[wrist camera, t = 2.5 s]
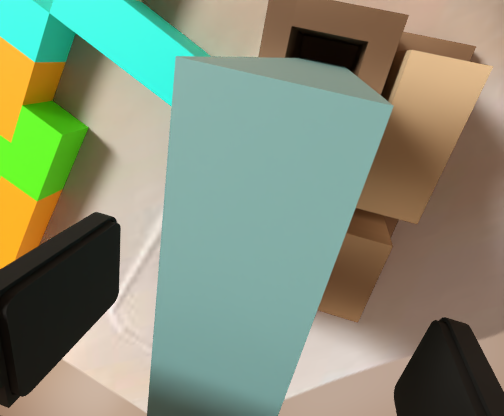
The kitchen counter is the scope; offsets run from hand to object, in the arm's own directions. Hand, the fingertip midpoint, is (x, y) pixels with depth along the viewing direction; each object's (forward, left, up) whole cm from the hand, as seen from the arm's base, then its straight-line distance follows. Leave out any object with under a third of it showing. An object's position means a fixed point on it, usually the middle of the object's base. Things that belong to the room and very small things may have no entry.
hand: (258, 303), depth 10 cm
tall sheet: (0, 0, -12) cm, 12 cm away
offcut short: (+3, +4, -12) cm, 13 cm away
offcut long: (-4, +4, -12) cm, 13 cm away
